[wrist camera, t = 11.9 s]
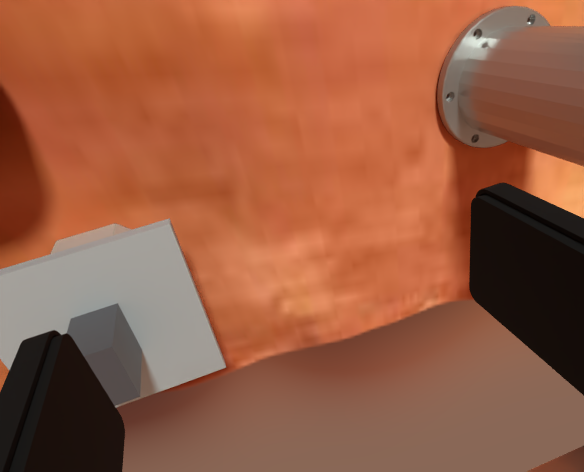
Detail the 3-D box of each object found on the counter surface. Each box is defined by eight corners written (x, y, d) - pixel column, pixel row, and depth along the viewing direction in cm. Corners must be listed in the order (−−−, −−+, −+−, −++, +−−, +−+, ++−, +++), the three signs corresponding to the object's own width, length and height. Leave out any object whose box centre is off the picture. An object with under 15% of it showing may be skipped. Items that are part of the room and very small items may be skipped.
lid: (169, 218, 31) (172, 257, 26) (224, 359, 39) (235, 411, 33) (-46, 283, 29) (-89, 339, 24) (57, 420, 36) (41, 485, 31)
